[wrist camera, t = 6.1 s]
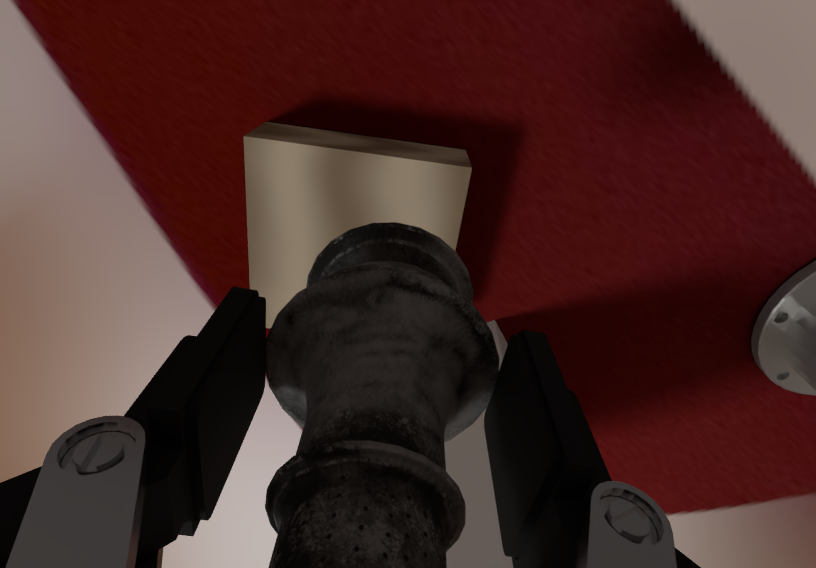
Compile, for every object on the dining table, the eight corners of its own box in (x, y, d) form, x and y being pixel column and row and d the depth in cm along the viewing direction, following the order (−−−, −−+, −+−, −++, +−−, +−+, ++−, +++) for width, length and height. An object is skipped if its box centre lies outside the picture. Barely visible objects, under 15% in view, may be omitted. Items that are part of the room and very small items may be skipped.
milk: (494, 319, 34) (643, 913, 11) (549, 421, 39) (730, 979, 16) (355, 377, 37) (253, 937, 14) (422, 465, 42) (424, 986, 19)
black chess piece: (438, 179, 13) (523, 894, 2) (508, 338, 15) (699, 1017, 5) (260, 258, 14) (-202, 938, 4) (352, 392, 17) (237, 1016, 6)
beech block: (465, 149, 28) (472, 167, 24) (434, 314, 34) (435, 348, 30) (266, 121, 27) (243, 136, 24) (269, 294, 33) (251, 325, 30)
